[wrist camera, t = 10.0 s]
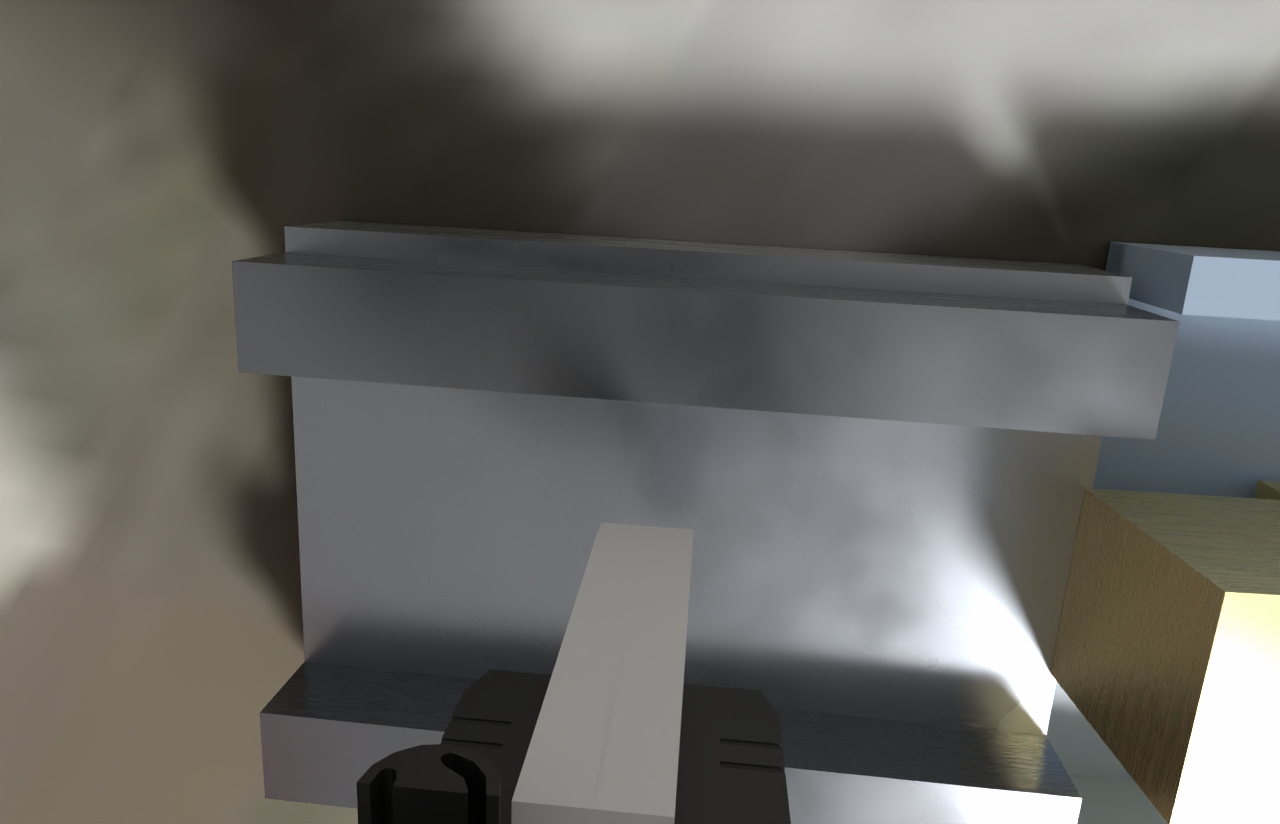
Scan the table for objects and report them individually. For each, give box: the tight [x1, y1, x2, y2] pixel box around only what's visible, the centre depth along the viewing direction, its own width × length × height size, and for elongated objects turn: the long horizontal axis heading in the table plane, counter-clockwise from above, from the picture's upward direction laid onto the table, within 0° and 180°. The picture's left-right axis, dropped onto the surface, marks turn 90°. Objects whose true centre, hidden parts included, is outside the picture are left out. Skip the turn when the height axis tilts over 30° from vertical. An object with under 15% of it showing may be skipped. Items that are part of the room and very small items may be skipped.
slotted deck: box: [232, 221, 1180, 824], centre depth 19 cm, size 12×16×4 cm
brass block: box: [1050, 488, 1280, 824], centre depth 16 cm, size 4×4×4 cm
